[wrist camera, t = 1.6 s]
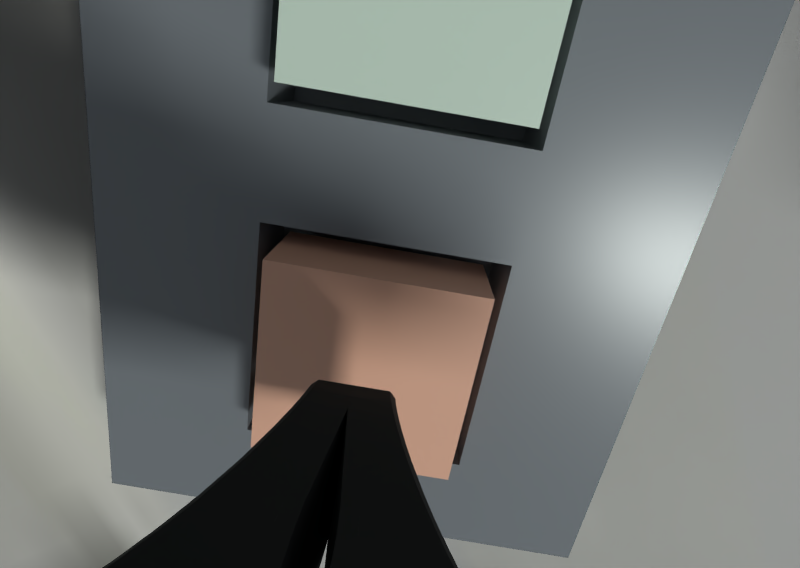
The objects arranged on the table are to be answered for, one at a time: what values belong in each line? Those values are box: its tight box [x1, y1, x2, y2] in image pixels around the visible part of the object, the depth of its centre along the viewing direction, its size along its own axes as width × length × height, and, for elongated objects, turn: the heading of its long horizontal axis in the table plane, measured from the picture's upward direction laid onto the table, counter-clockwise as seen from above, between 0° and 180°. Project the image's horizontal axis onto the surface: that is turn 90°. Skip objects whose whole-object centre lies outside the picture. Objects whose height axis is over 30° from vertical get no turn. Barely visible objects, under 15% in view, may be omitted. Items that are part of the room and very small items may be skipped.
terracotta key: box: [251, 231, 495, 480], centre depth 11 cm, size 4×4×2 cm
